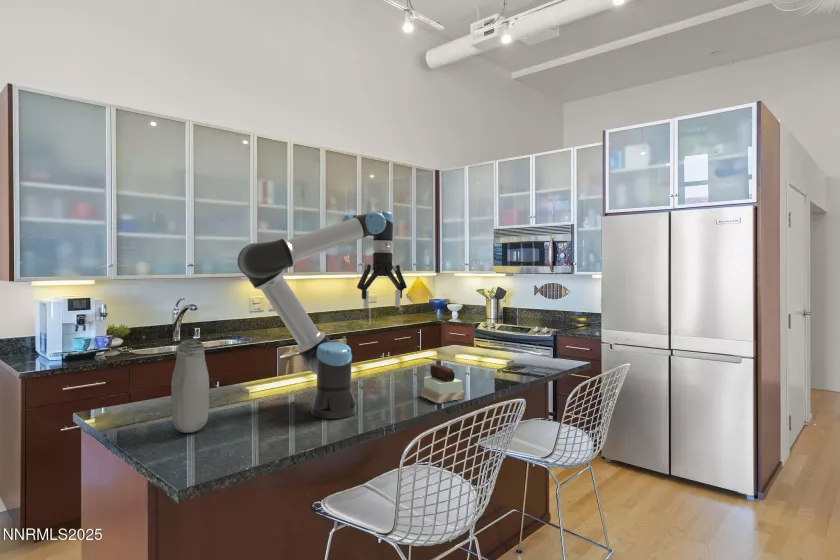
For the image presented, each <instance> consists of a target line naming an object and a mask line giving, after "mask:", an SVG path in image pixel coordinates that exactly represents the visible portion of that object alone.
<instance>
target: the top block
mask: <svg viewBox="0 0 840 560" xmlns="http://www.w3.org/2000/svg"><path fill="white" fill-rule="evenodd" d="M423 380H424V381H423V388H424V387H425V388H427V389H429V390H431V391H433V392H435V393H437V394H447V393H455V392H462V390H463V380H461V379H458V378H456V377H455V379H454V380H453V381H448V382H446V381H442V380H439V379H436V378H434V377H432V376H431V375H430V376H424V377H423Z"/></svg>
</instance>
